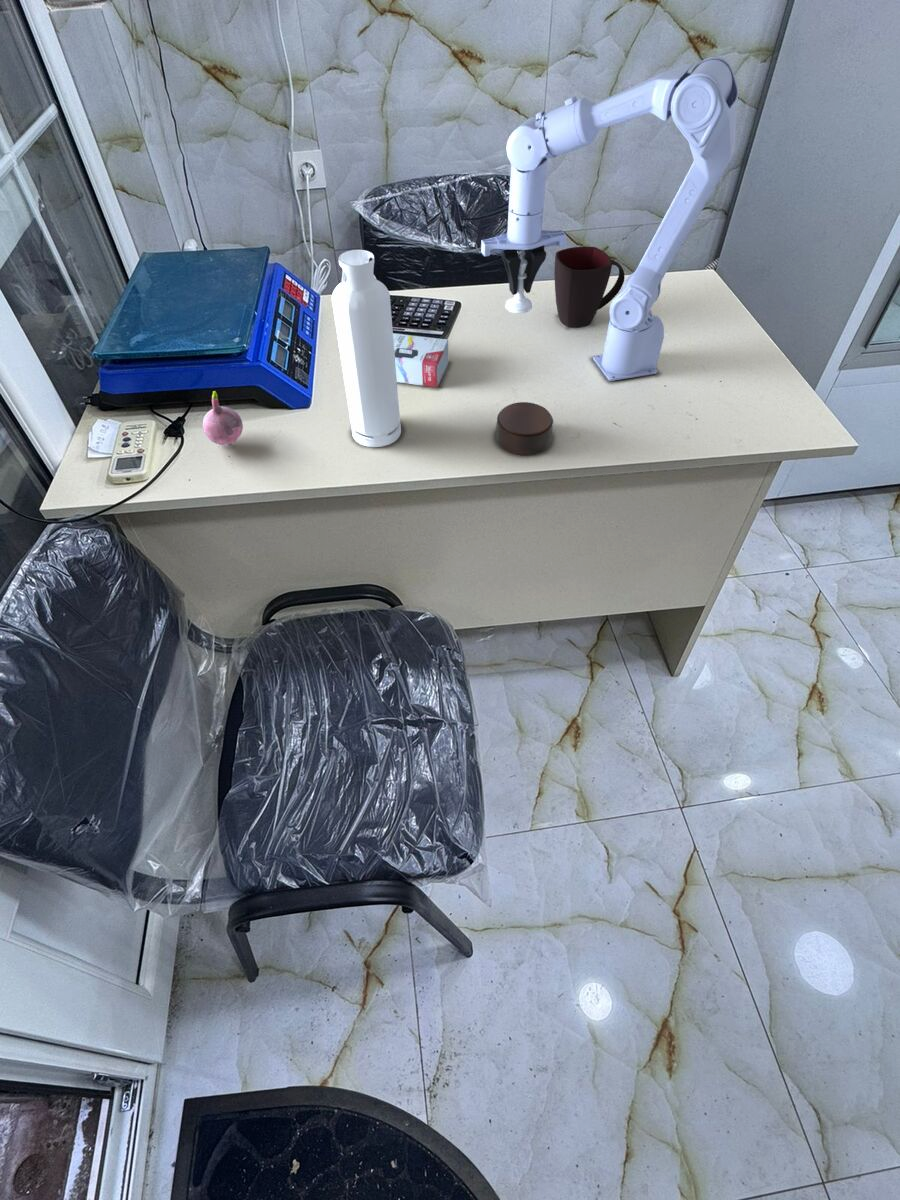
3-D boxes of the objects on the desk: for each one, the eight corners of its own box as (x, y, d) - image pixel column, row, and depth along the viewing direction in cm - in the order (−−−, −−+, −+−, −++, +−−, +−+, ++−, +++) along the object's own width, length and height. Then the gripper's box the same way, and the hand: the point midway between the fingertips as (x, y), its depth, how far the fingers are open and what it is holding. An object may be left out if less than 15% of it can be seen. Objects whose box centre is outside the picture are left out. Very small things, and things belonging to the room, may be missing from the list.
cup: (542, 311, 131) (549, 250, 122) (605, 302, 133) (616, 241, 124) (560, 336, 125) (568, 273, 116) (625, 326, 127) (639, 264, 118)
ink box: (437, 364, 111) (372, 356, 112) (437, 389, 115) (374, 380, 116) (448, 338, 116) (386, 330, 118) (448, 362, 120) (388, 355, 121)
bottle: (406, 442, 105) (393, 266, 83) (357, 451, 104) (331, 275, 82) (394, 413, 110) (379, 240, 88) (348, 422, 109) (320, 248, 87)
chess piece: (535, 303, 119) (541, 246, 111) (526, 315, 117) (531, 258, 109) (511, 298, 121) (514, 241, 113) (501, 310, 118) (504, 253, 110)
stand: (539, 417, 109) (542, 397, 106) (558, 450, 104) (561, 429, 101) (489, 426, 108) (490, 405, 105) (505, 459, 102) (507, 439, 99)
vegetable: (234, 461, 103) (215, 407, 95) (202, 451, 104) (181, 398, 96) (255, 439, 106) (239, 385, 98) (225, 430, 108) (206, 376, 100)
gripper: (559, 194, 109) (550, 276, 120) (476, 204, 107) (475, 286, 118) (574, 211, 105) (563, 293, 116) (488, 221, 103) (486, 304, 113)
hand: (519, 291), depth 116 cm, fingers closed on chess piece
